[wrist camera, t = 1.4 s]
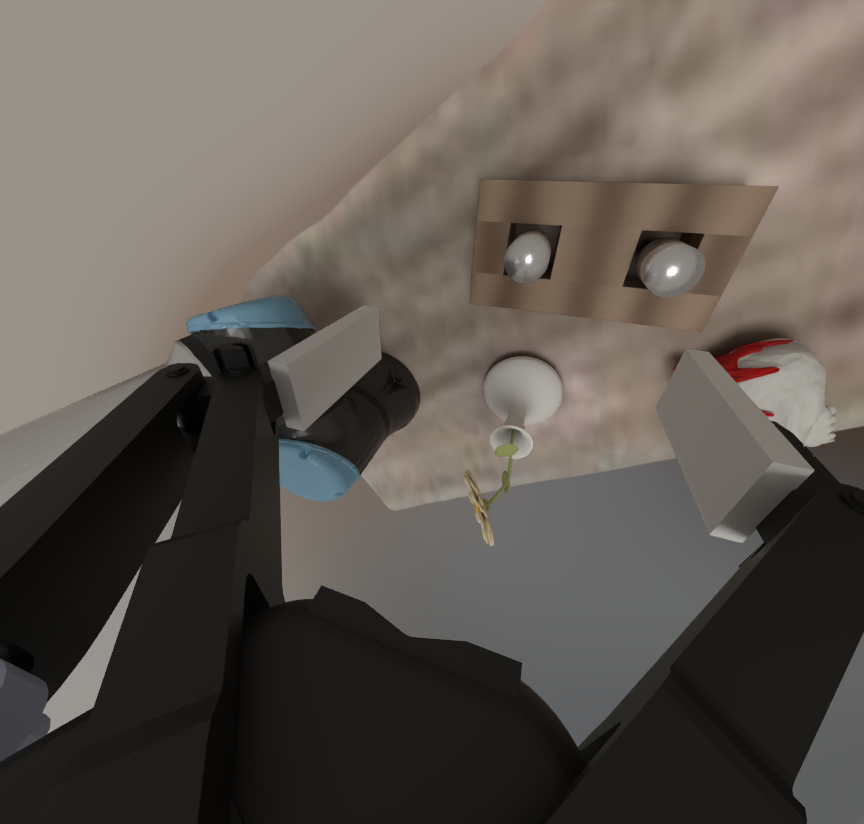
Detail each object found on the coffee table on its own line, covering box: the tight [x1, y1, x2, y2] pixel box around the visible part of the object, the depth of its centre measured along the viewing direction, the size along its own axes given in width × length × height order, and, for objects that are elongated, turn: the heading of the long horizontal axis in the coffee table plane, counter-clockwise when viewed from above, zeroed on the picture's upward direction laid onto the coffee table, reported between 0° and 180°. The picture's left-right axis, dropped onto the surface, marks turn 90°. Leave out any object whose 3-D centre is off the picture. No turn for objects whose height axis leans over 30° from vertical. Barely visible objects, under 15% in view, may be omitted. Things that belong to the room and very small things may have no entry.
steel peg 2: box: [635, 237, 705, 298], centre depth 29 cm, size 4×4×6 cm
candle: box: [674, 338, 837, 447], centre depth 35 cm, size 9×11×15 cm
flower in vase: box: [463, 356, 564, 546], centre depth 40 cm, size 13×11×25 cm
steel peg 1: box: [504, 229, 552, 283], centre depth 32 cm, size 4×4×6 cm
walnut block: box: [469, 179, 779, 332], centre depth 34 cm, size 24×12×6 cm, turn 89°
